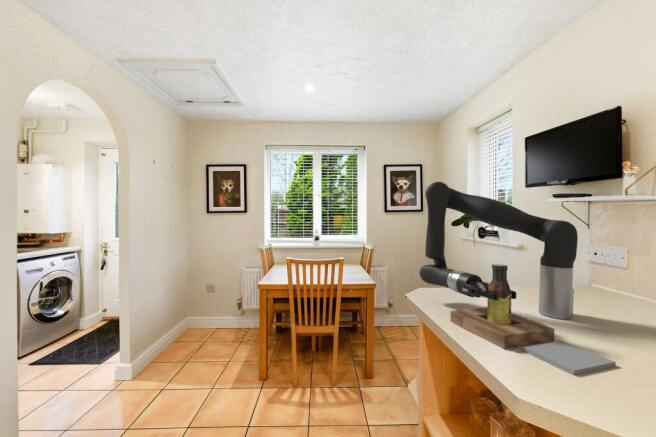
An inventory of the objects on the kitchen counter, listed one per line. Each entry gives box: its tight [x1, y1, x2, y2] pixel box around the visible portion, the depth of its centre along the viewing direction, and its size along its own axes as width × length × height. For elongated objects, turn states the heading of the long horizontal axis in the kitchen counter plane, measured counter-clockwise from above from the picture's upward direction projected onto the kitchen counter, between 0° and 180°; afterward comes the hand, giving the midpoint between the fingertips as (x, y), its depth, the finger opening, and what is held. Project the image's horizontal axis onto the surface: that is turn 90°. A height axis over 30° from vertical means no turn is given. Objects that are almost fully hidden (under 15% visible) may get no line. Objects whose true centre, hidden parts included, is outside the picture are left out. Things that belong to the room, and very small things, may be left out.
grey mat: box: [522, 340, 617, 376], centre depth 74 cm, size 14×12×1 cm
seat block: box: [449, 307, 555, 350], centre depth 90 cm, size 18×20×4 cm
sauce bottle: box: [486, 263, 512, 326], centre depth 90 cm, size 6×6×20 cm
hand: (506, 296), depth 88 cm, fingers closed on sauce bottle, 6 cm apart
